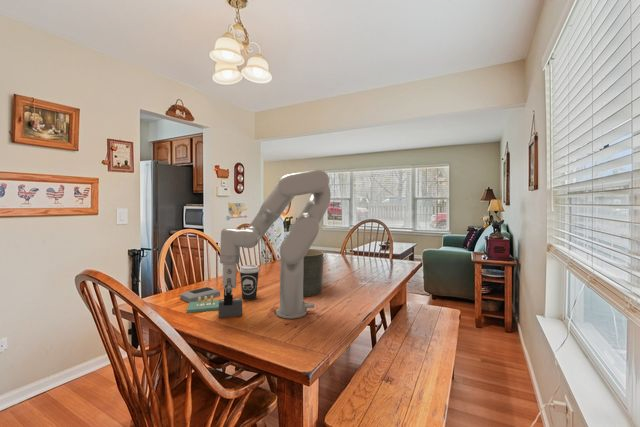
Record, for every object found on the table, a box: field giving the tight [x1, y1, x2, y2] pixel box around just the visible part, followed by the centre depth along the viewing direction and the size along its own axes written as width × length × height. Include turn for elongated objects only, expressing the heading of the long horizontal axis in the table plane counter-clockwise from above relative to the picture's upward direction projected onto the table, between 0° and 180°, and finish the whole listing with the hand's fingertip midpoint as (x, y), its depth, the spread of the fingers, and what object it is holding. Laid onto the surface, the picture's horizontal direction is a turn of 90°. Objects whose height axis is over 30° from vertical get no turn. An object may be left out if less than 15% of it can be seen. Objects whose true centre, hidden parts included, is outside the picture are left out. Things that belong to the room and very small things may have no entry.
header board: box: [186, 296, 220, 314], centre depth 130 cm, size 14×10×5 cm
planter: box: [303, 248, 325, 298], centre depth 156 cm, size 22×22×20 cm
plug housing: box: [218, 297, 243, 319], centre depth 122 cm, size 9×4×6 cm, turn 108°
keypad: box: [179, 286, 221, 304], centre depth 144 cm, size 10×4×15 cm
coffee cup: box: [238, 264, 261, 301], centre depth 143 cm, size 10×10×15 cm
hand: (227, 301), depth 122 cm, fingers open, 9 cm apart
